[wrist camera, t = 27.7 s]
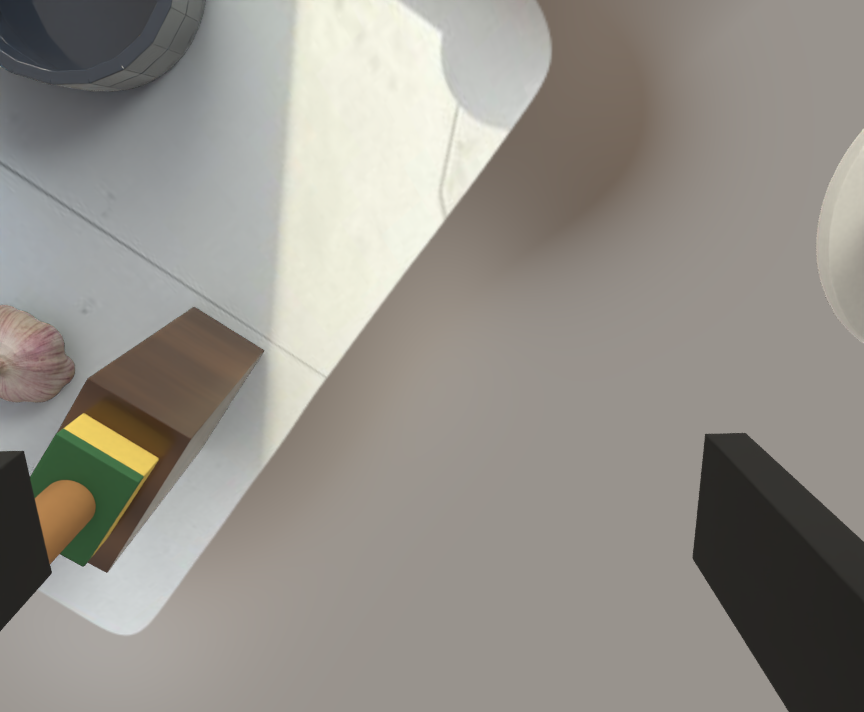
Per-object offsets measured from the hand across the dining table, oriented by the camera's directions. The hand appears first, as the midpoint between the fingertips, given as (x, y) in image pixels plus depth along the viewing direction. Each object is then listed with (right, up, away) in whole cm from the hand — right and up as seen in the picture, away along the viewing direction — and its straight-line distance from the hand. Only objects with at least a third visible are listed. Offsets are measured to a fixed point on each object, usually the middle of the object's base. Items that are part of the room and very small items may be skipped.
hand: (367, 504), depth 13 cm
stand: (-17, +1, +38) cm, 42 cm away
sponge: (-17, -4, +23) cm, 29 cm away
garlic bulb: (-29, +4, +38) cm, 47 cm away
